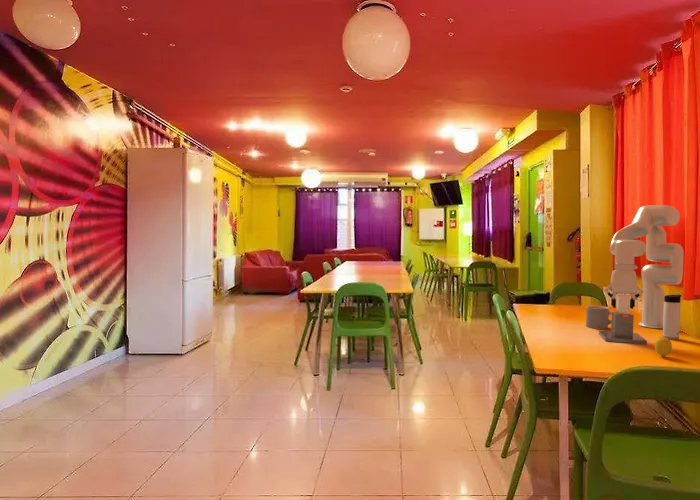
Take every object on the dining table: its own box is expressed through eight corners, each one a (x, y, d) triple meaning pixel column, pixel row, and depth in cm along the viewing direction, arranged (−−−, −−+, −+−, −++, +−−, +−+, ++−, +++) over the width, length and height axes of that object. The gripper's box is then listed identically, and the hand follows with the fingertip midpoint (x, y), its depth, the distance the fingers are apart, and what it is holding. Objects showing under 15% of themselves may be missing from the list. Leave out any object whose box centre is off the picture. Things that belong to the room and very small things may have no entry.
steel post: (615, 333, 224) (617, 294, 223) (625, 334, 223) (627, 294, 222) (617, 335, 220) (619, 295, 219) (628, 336, 219) (629, 296, 218)
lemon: (651, 355, 193) (652, 334, 192) (664, 354, 193) (665, 334, 193) (661, 358, 187) (662, 338, 187) (675, 358, 188) (675, 337, 187)
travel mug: (682, 340, 220) (684, 295, 219) (666, 339, 221) (667, 295, 220) (676, 337, 226) (678, 293, 225) (660, 336, 227) (662, 293, 226)
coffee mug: (585, 327, 246) (585, 307, 246) (586, 324, 255) (587, 305, 255) (615, 330, 240) (616, 310, 239) (616, 327, 248) (616, 307, 248)
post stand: (598, 333, 231) (599, 309, 231) (637, 336, 227) (637, 311, 226) (605, 341, 216) (606, 315, 216) (646, 344, 211) (647, 317, 211)
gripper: (643, 268, 221) (642, 307, 222) (601, 266, 226) (599, 305, 227) (648, 269, 214) (647, 310, 215) (604, 267, 219) (603, 308, 220)
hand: (622, 307), depth 221 cm, fingers open, 6 cm apart
